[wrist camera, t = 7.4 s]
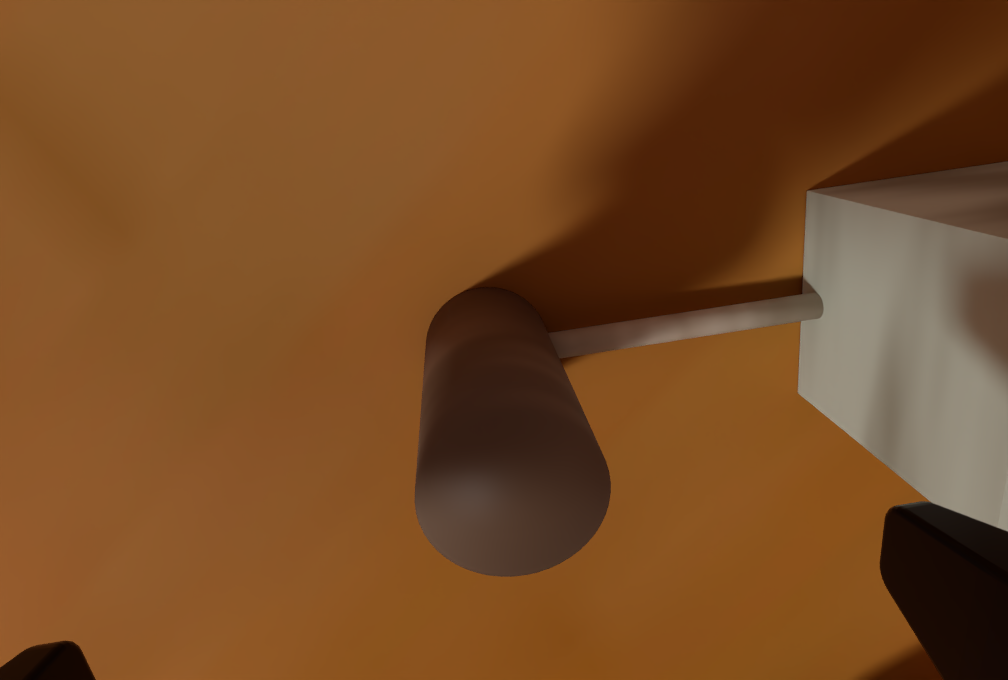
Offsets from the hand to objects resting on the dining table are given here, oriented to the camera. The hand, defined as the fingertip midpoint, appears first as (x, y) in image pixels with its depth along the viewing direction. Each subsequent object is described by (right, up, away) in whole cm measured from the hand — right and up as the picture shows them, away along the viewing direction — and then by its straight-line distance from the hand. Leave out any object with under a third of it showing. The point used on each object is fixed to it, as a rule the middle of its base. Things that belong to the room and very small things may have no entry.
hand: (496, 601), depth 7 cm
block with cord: (+5, +4, +8) cm, 10 cm away
